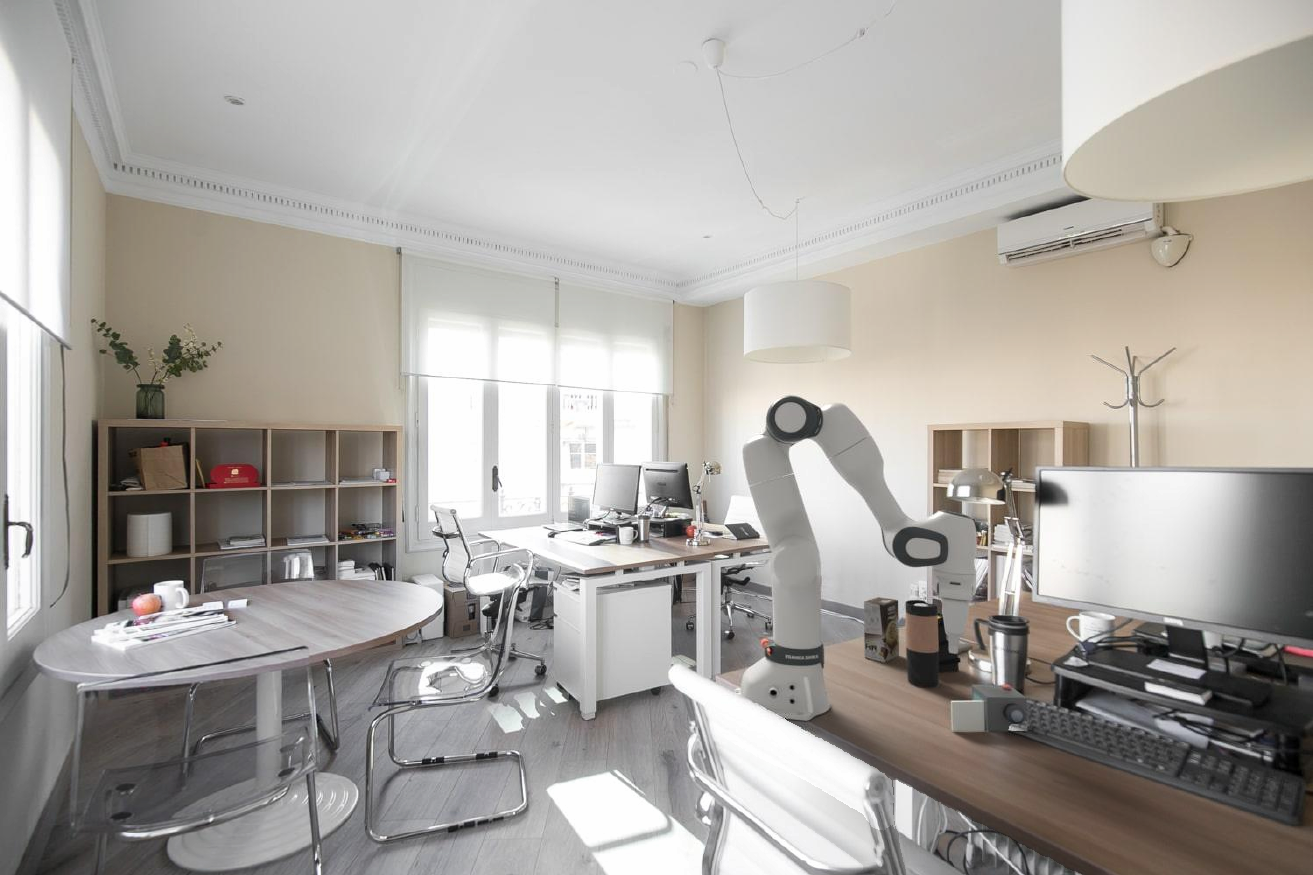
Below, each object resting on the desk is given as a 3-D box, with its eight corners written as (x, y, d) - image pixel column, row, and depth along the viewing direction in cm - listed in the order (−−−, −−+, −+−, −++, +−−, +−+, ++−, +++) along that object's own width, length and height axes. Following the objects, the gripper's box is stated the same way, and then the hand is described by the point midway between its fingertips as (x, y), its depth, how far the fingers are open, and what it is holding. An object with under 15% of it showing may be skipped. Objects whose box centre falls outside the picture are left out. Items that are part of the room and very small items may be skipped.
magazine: (971, 665, 161) (947, 614, 161) (929, 688, 160) (904, 637, 160) (963, 660, 165) (939, 611, 165) (921, 683, 164) (898, 633, 164)
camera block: (992, 735, 124) (991, 697, 124) (972, 716, 133) (971, 681, 133) (1033, 736, 123) (1032, 698, 124) (1009, 717, 132) (1009, 682, 133)
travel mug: (910, 687, 150) (908, 606, 151) (903, 676, 158) (902, 599, 159) (943, 689, 149) (941, 607, 150) (934, 678, 156) (933, 600, 157)
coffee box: (885, 663, 168) (884, 604, 169) (863, 657, 173) (862, 601, 174) (900, 656, 174) (899, 599, 175) (879, 650, 179) (878, 596, 180)
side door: (987, 730, 125) (987, 701, 126) (953, 731, 125) (952, 702, 125) (985, 729, 126) (985, 699, 126) (951, 729, 126) (950, 700, 126)
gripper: (936, 574, 145) (935, 632, 145) (939, 590, 127) (937, 657, 126) (966, 577, 143) (964, 636, 142) (973, 594, 124) (971, 662, 124)
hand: (951, 646), depth 134 cm, fingers open, 8 cm apart
